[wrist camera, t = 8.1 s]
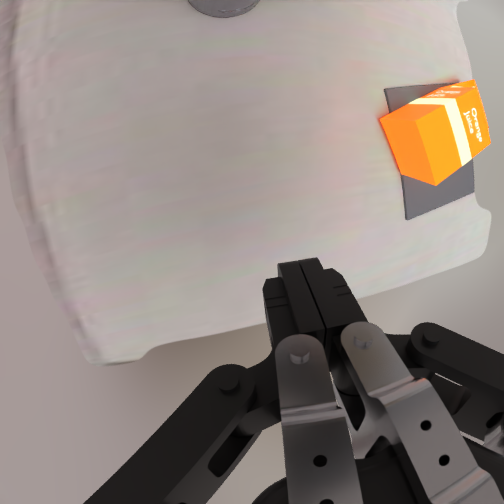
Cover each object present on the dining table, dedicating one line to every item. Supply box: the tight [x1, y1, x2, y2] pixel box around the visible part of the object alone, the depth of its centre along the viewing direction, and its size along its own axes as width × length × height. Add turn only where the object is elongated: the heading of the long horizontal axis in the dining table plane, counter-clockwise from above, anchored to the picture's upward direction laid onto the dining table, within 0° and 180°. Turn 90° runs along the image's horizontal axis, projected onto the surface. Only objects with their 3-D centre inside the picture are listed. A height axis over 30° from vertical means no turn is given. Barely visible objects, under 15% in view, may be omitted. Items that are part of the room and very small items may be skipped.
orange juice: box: [380, 80, 491, 186], centre depth 31 cm, size 8×9×20 cm
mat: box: [384, 84, 474, 220], centre depth 36 cm, size 20×18×1 cm
